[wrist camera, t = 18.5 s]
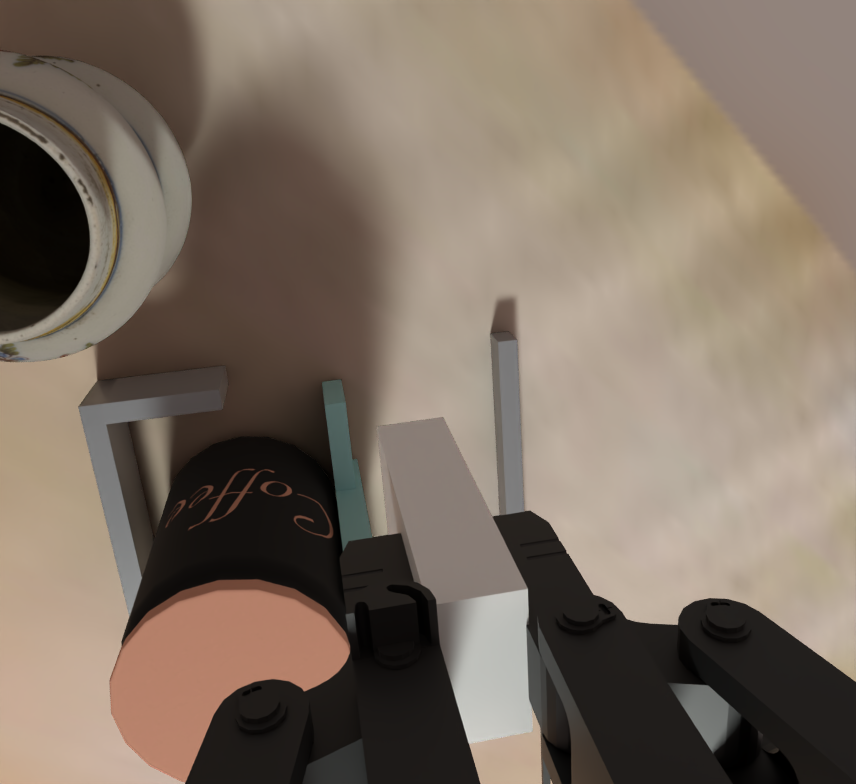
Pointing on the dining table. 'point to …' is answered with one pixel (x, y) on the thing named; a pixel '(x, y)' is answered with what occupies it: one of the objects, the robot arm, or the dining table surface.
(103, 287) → the apothecary jar
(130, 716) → the coffee jar
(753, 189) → the dining table surface
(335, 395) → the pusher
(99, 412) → the grey piece
